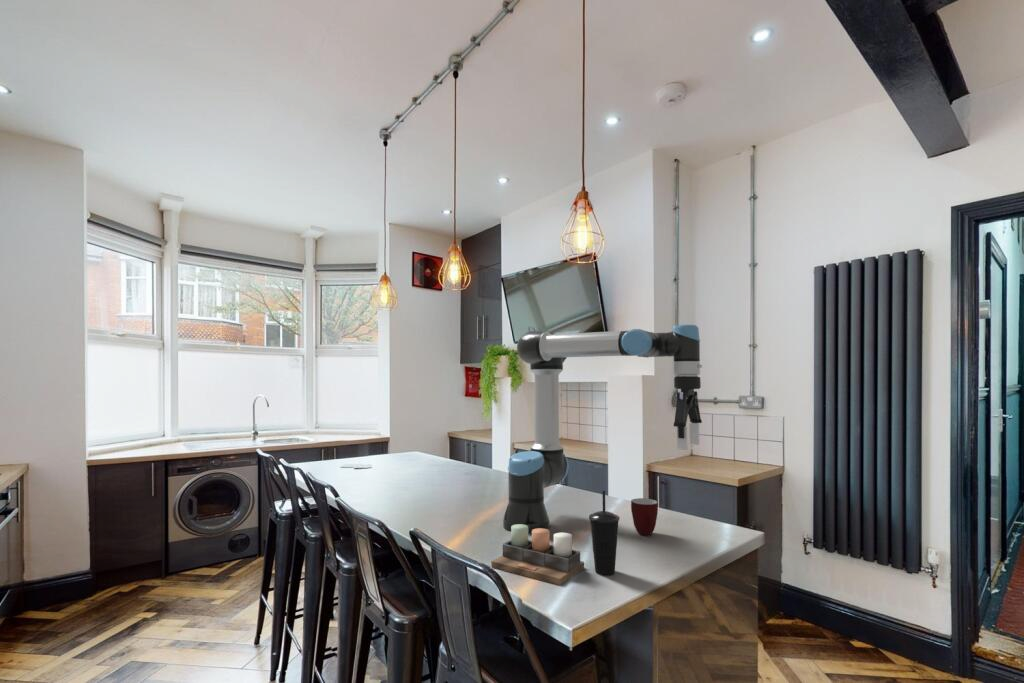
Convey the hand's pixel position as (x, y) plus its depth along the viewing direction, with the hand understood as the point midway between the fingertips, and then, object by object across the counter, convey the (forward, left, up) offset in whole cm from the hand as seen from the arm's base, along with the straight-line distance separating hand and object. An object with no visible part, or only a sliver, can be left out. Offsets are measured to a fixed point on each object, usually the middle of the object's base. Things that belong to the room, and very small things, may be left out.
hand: (688, 447), depth 150 cm
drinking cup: (-12, -35, -28) cm, 46 cm away
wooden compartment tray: (-28, -42, -28) cm, 57 cm away
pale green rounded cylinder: (-34, -40, -24) cm, 58 cm away
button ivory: (-21, -40, -24) cm, 52 cm away
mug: (-13, 0, -28) cm, 31 cm away
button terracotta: (-28, -40, -24) cm, 55 cm away
